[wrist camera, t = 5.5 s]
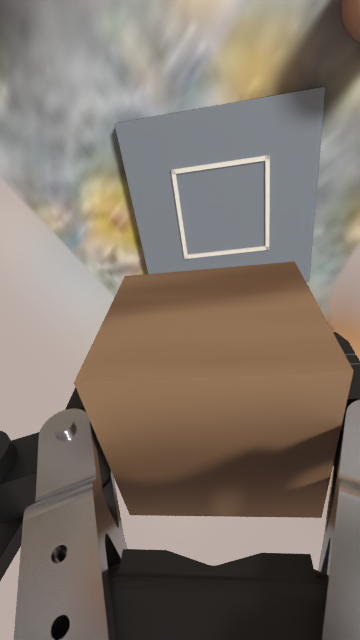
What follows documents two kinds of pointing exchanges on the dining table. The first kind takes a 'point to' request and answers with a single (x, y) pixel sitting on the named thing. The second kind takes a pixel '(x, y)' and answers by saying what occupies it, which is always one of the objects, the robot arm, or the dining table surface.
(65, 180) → the dining table surface
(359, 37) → the terracotta cylinder
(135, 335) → the walnut block
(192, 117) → the board
